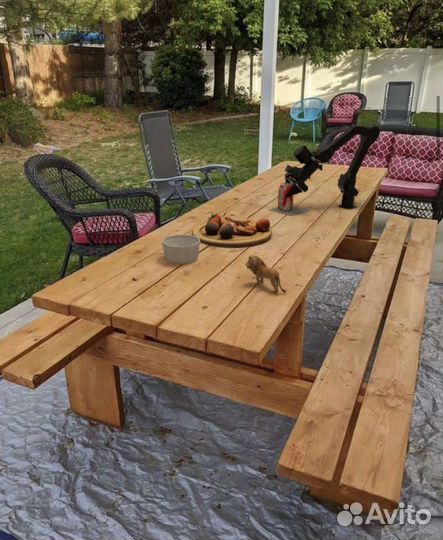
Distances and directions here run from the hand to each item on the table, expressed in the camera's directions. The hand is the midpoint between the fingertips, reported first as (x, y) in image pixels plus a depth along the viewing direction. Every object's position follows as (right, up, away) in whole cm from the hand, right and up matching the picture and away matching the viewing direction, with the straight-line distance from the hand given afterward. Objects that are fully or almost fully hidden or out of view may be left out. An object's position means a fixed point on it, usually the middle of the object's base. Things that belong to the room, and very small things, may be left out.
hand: (283, 195), depth 229 cm
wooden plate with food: (-25, -21, -32) cm, 45 cm away
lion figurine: (-16, -40, -79) cm, 90 cm away
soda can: (+1, -6, +3) cm, 7 cm away
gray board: (+3, -7, +2) cm, 8 cm away
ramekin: (-43, -31, -57) cm, 78 cm away
